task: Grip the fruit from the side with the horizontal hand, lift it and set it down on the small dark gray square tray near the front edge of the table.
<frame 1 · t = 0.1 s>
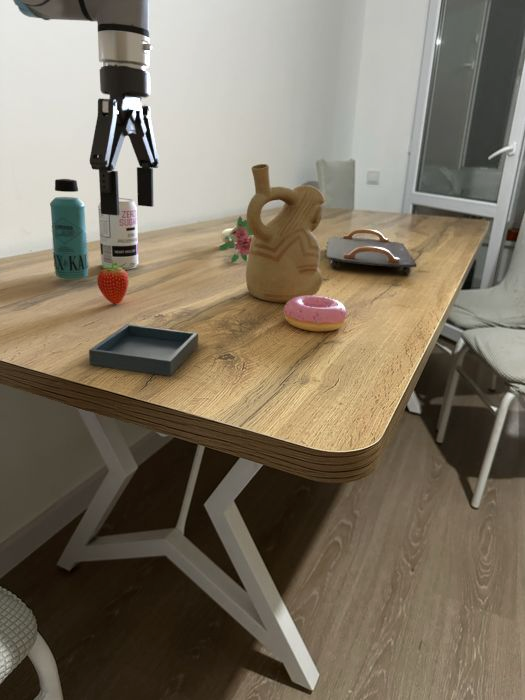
hand: (129, 210, 87), 17 cm above the table, tool pointing down, fingers open, 13 cm apart
beverage bottle: (73, 283, 105), on the table
dark gray square tray: (147, 355, 72), on the table
serving tray: (366, 260, 145), on the table
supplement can: (120, 267, 120), on the table
ceramic vessel: (278, 295, 105), on the table
fruit: (114, 304, 93), on the table
doughnut: (313, 324, 89), on the table
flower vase: (237, 257, 138), on the table
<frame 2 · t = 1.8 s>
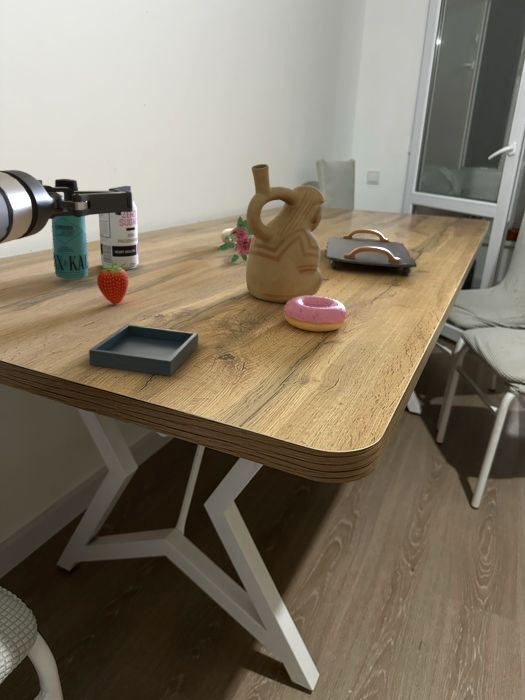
hand: (84, 192, 77), 20 cm above the table, tool horizontal, fingers open, 13 cm apart
nothing on the table moved.
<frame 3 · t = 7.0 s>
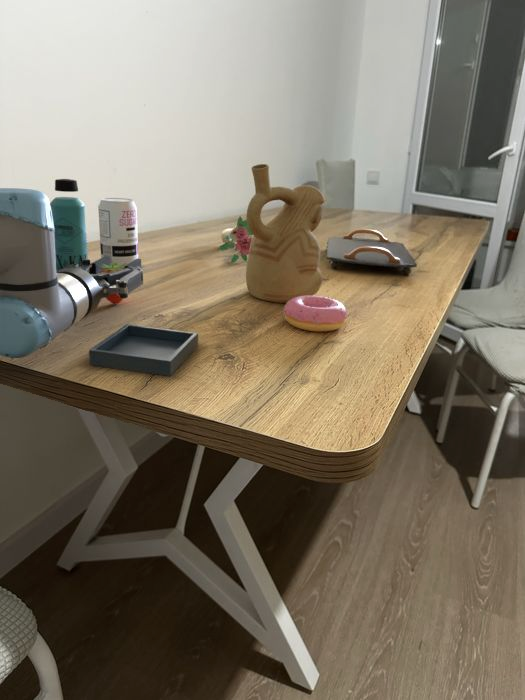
hand: (123, 264, 96), 6 cm above the table, tool horizontal, fingers closed on fruit, 5 cm apart
fruit: (114, 304, 93), on the table, touching gripper
everything else where it was.
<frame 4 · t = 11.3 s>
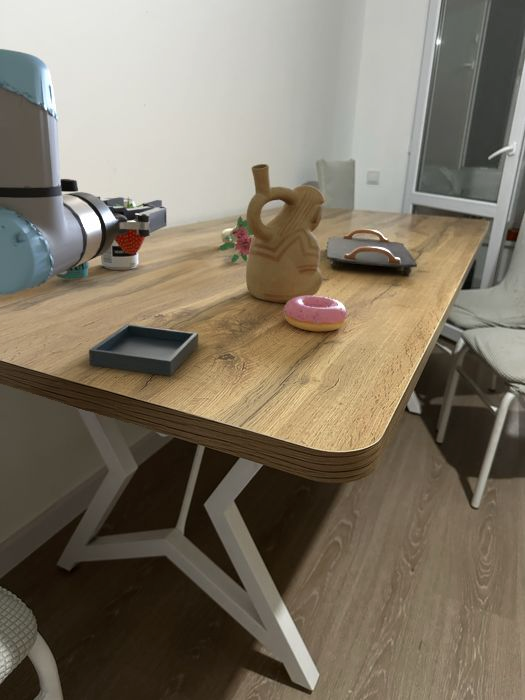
hand: (140, 208, 78), 18 cm above the table, tool horizontal, fingers closed on fruit, 5 cm apart
fruit: (130, 255, 76), point 12 cm above the table, touching gripper
everything else where it was.
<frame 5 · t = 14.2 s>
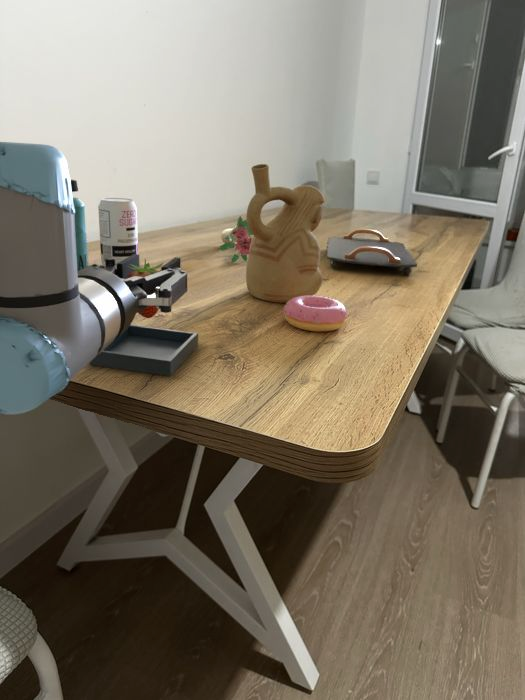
hand: (157, 265, 73), 12 cm above the table, tool horizontal, fingers closed on fruit, 5 cm apart
fruit: (146, 318, 70), point 5 cm above the table, touching gripper
everything else where it was.
when the fingers open (7 cm above the table, at t = 15.9 s): fruit stays where it is, resting on dark gray square tray.
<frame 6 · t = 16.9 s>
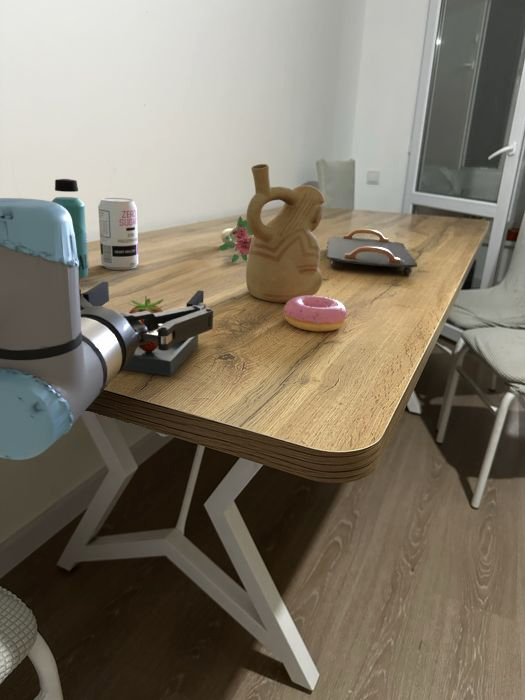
hand: (153, 295, 72), 8 cm above the table, tool horizontal, fingers open, 13 cm apart
fruit: (147, 352, 72), resting on dark gray square tray
everything else where it was.
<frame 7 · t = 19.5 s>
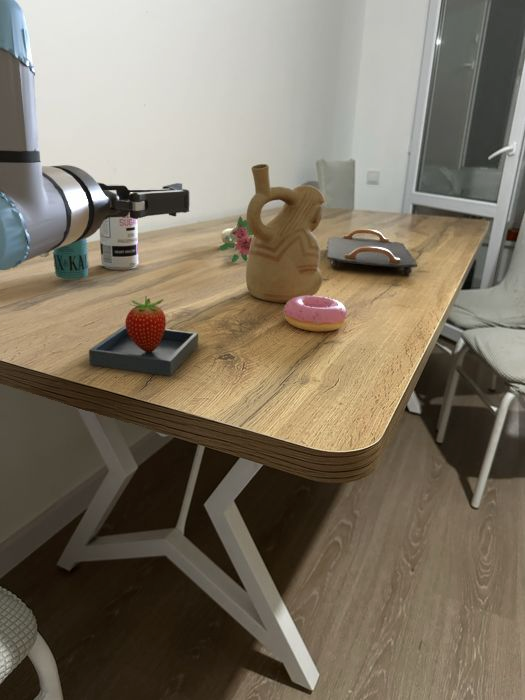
hand: (130, 190, 70), 21 cm above the table, tool horizontal, fingers open, 13 cm apart
nothing on the table moved.
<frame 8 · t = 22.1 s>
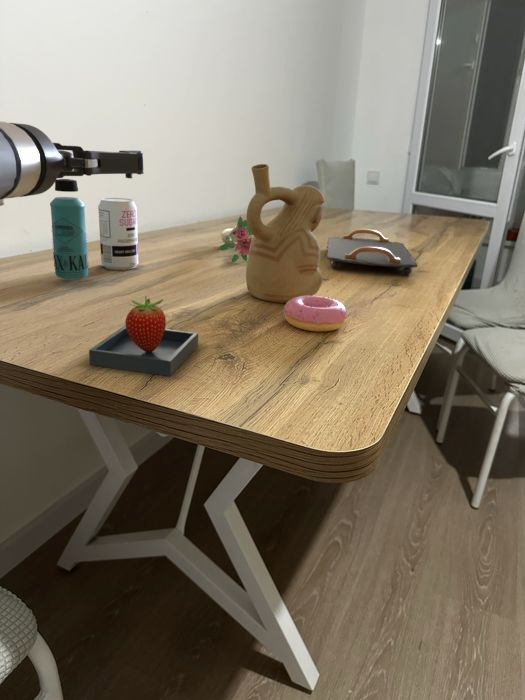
hand: (93, 157, 75), 25 cm above the table, tool horizontal, fingers open, 13 cm apart
nothing on the table moved.
at the end: fruit inside the target area in the dark gray square tray (0.1 cm from its centre), point 0.4 cm above the dark gray square tray's base; the gripper is holding nothing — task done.
